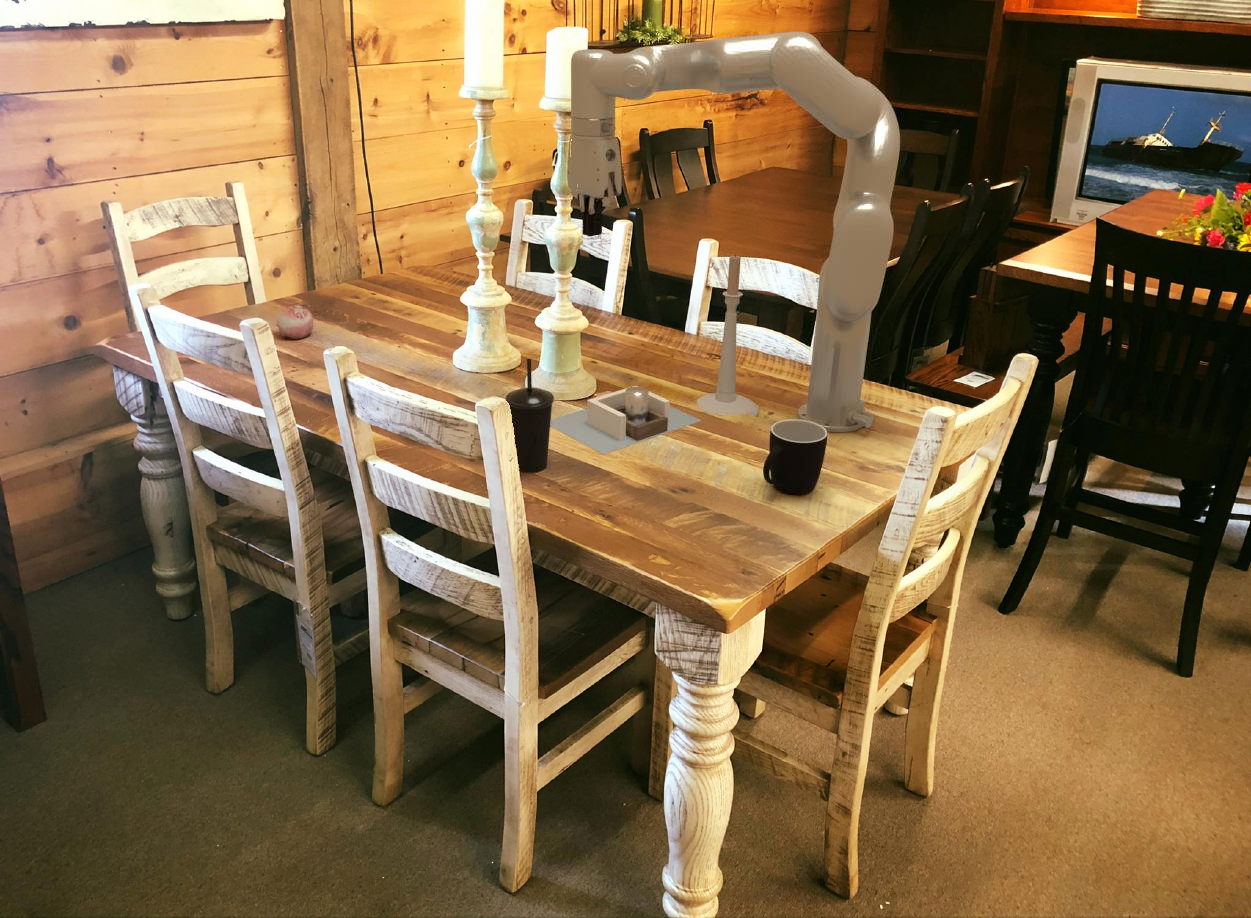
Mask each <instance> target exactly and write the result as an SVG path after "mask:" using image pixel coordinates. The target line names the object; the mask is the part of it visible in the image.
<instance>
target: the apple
mask: <svg viewBox="0 0 1251 918" xmlns="http://www.w3.org/2000/svg"><path fill="white" fill-rule="evenodd" d="M276 327H277V329H278V330H279V331H280V333H281V334H280V335H281V337H282V339H283V340H284V341H285V340H288V339H293V340H296V339H297V340H301V339H304V338H307V337H311V336H310V334H311V333H312V331H313V329H314V317H313V314H312V312H311V311H310V310H309V309H308V308H306V307H305V306H302V305H300V304H294V305H293V304H292V305H289V306H287V307H285V308H284V309H283V310H281V312H280V313H279V314H278V316H277V319H276ZM286 337H287V338H286Z"/></svg>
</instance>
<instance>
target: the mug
mask: <svg viewBox="0 0 1251 918" xmlns="http://www.w3.org/2000/svg"><path fill="white" fill-rule="evenodd" d="M827 441H828V431H826V429H825V428H824V427H822V426H821V425H819V424H817V423H814V422H811V421H806V420H799V419H797V418H796V419H795V418H794V419H793V418H791V419H784V420H779V421H776V422H774V423H773V424H772V425H771V427H770V431H769V444H768V445H769V452H768V455H767V456H766V458H765V461H764V463H763V467H762V475H763V478H764V481H766V483H767V484H769V485H771V486H773V487H774V489H775V490H776V491H777V492H779V493H780V494H783V495H786V496H791V497H792V496H793V497H801V496H802V497H803V496H806V495H809V494H811V493H812V492H813V491H814V490H815V488H816V486H817V484H818V481H819V478H820V475H821V473H822V468H823V463H824V460H825V454H826V449H827V443H828V442H827Z"/></svg>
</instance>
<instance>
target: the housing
mask: <svg viewBox="0 0 1251 918" xmlns="http://www.w3.org/2000/svg"><path fill="white" fill-rule="evenodd" d="M630 387H631V386H629V387H627V388H630ZM632 387H639V386H638V385H633V386H632ZM627 388H626V387H625V388H623V389H620V390H617V391H614V392H613V391H611V390H607V391H603V392H599V393H596V394H593V397H592V398H590V399H586V402H587V403H586V409H587V424H589V425H591V426H593V427H595V428H597V429H599V430H601V431H603V432H605V433H606V434H608V435H610V436H612V437H614V438H616V439H618V440H620V441H621V440H624V439H626V415H625V414H623V413H621V412H619V411H617V410H615V409H614V408H617V407H620V406H624V405H625V396H626V389H627ZM670 404H671V400H668V399H666V398H664V397H662V396H660V395H658V394H656V393H653V392H652V391H649V393H648V409H650V410H652V411H654V412H656V413H658V414H661V415H663V416H665V417H667V418H668V424H669V411H670V406H671V405H670Z"/></svg>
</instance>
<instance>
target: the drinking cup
mask: <svg viewBox="0 0 1251 918" xmlns="http://www.w3.org/2000/svg"><path fill="white" fill-rule="evenodd" d="M532 378H533V377H532V359H531V358H526V379H527V381H526V382H527V383H526V384H527V387H520V388H519V389H515V390H511V391H509V392H508V393H507V394H506V396H505V402H506V401H507V402H508V403H509V405H510V409H511V414H512V423H513V427H514V435H515V444H516V448H517V456H518V464H519V468H520V471H519V472H522V473H527V474H535V473H539V472H542V471H544V470H546V469H547V466H548V454H549V444H550V443H549V442H550V431H551V426H550V422H551V419H552V407H553V403H554V401H555V396H554V394H553V393H552V392H550V391H548V390H545V389H542V388H538V387H534V386H532V385H533V383H532Z"/></svg>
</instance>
